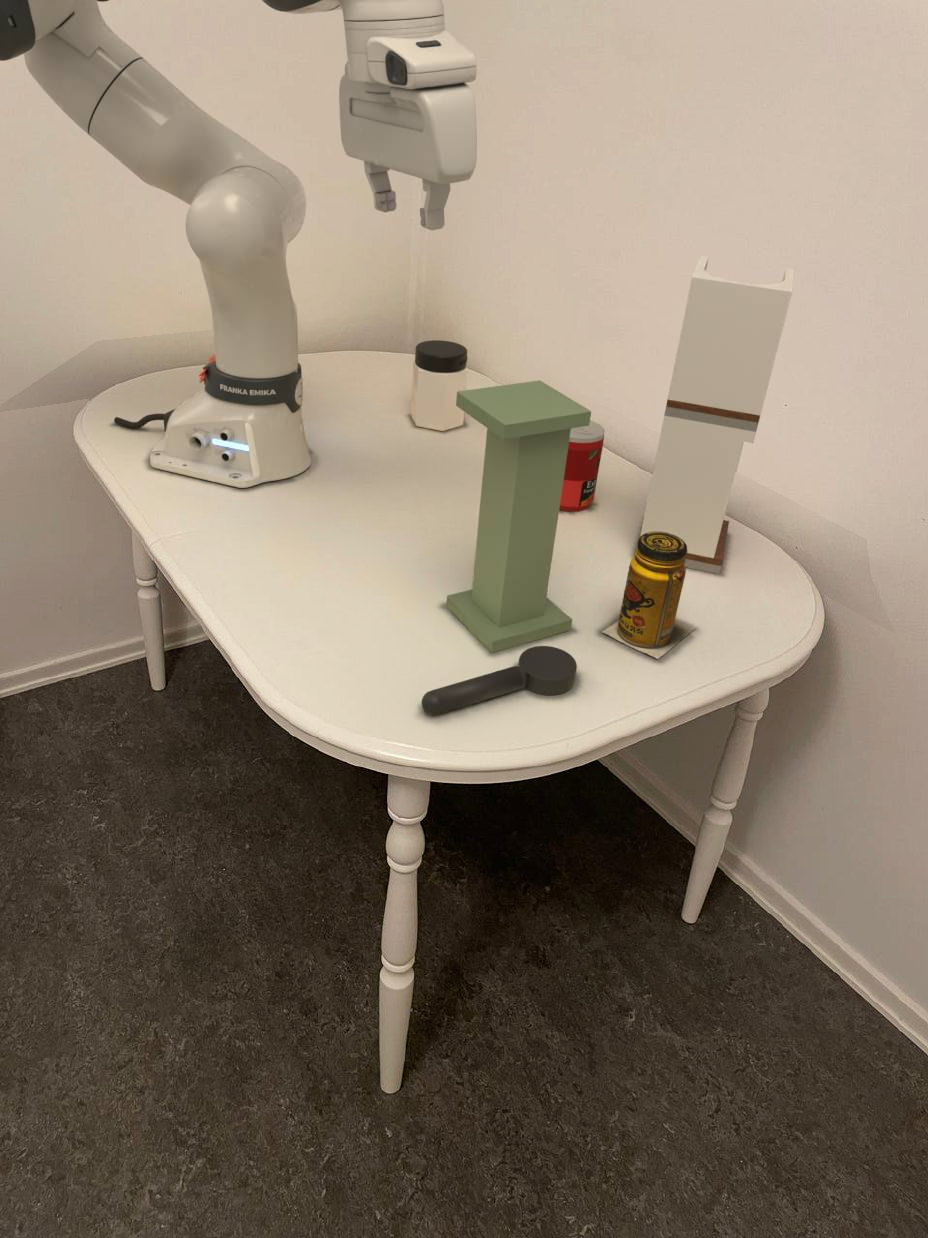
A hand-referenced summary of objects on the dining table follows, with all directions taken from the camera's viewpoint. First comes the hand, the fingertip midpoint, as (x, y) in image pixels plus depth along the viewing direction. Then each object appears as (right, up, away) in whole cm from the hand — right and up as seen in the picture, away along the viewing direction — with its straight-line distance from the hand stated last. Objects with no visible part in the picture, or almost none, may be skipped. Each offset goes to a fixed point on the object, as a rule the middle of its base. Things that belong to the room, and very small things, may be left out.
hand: (408, 218), depth 94 cm
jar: (+1, -7, +63) cm, 63 cm away
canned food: (+20, -22, +42) cm, 51 cm away
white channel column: (+34, -29, +33) cm, 56 cm away
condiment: (+26, -41, +15) cm, 51 cm away
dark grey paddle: (+9, -46, +4) cm, 47 cm away
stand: (+9, -39, +15) cm, 43 cm away
